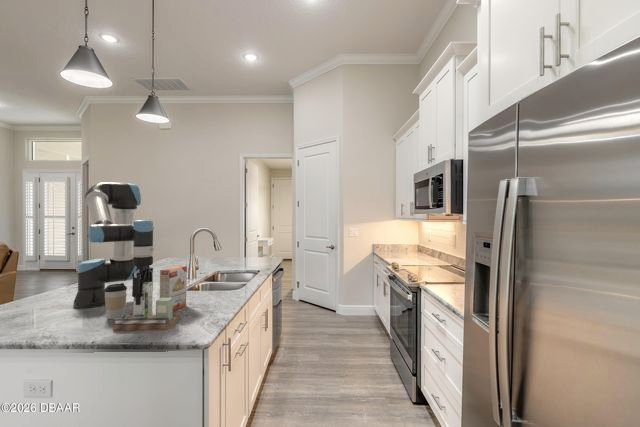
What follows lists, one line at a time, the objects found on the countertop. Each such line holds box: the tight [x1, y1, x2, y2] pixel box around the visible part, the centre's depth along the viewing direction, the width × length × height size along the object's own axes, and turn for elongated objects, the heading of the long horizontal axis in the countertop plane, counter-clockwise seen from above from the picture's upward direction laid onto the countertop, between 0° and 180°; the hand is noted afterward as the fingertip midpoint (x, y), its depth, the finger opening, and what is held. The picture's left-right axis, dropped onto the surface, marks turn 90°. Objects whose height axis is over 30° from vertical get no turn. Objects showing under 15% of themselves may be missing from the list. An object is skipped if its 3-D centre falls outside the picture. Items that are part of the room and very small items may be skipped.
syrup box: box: [132, 282, 154, 318], centre depth 140 cm, size 6×6×14 cm
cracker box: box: [158, 265, 188, 312], centre depth 163 cm, size 14×6×21 cm, turn 168°
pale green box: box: [155, 297, 174, 321], centre depth 140 cm, size 5×5×9 cm
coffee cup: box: [104, 282, 128, 320], centre depth 151 cm, size 9×9×15 cm
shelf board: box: [112, 313, 182, 331], centre depth 141 cm, size 22×14×4 cm, turn 93°
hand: (142, 309), depth 140 cm, fingers closed on syrup box, 6 cm apart
